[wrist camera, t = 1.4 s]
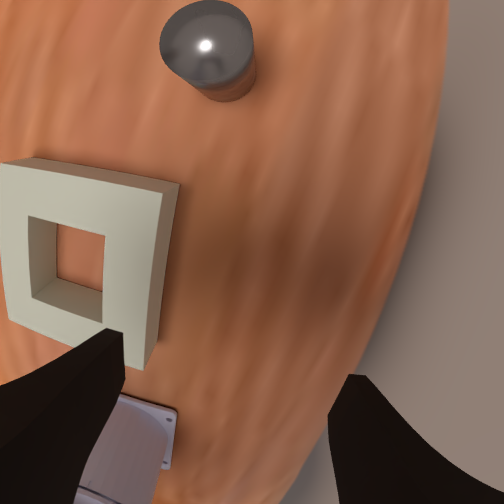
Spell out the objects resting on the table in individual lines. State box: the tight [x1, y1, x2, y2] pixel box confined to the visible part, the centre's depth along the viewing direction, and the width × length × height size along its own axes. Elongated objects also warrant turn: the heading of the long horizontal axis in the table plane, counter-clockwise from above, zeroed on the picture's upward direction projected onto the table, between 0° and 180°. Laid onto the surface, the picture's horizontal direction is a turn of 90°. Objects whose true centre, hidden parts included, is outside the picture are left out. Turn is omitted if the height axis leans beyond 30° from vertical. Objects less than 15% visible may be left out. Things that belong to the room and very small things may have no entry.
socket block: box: [0, 157, 180, 371], centre depth 16 cm, size 10×10×3 cm
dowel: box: [159, 0, 256, 102], centre depth 11 cm, size 3×3×6 cm
